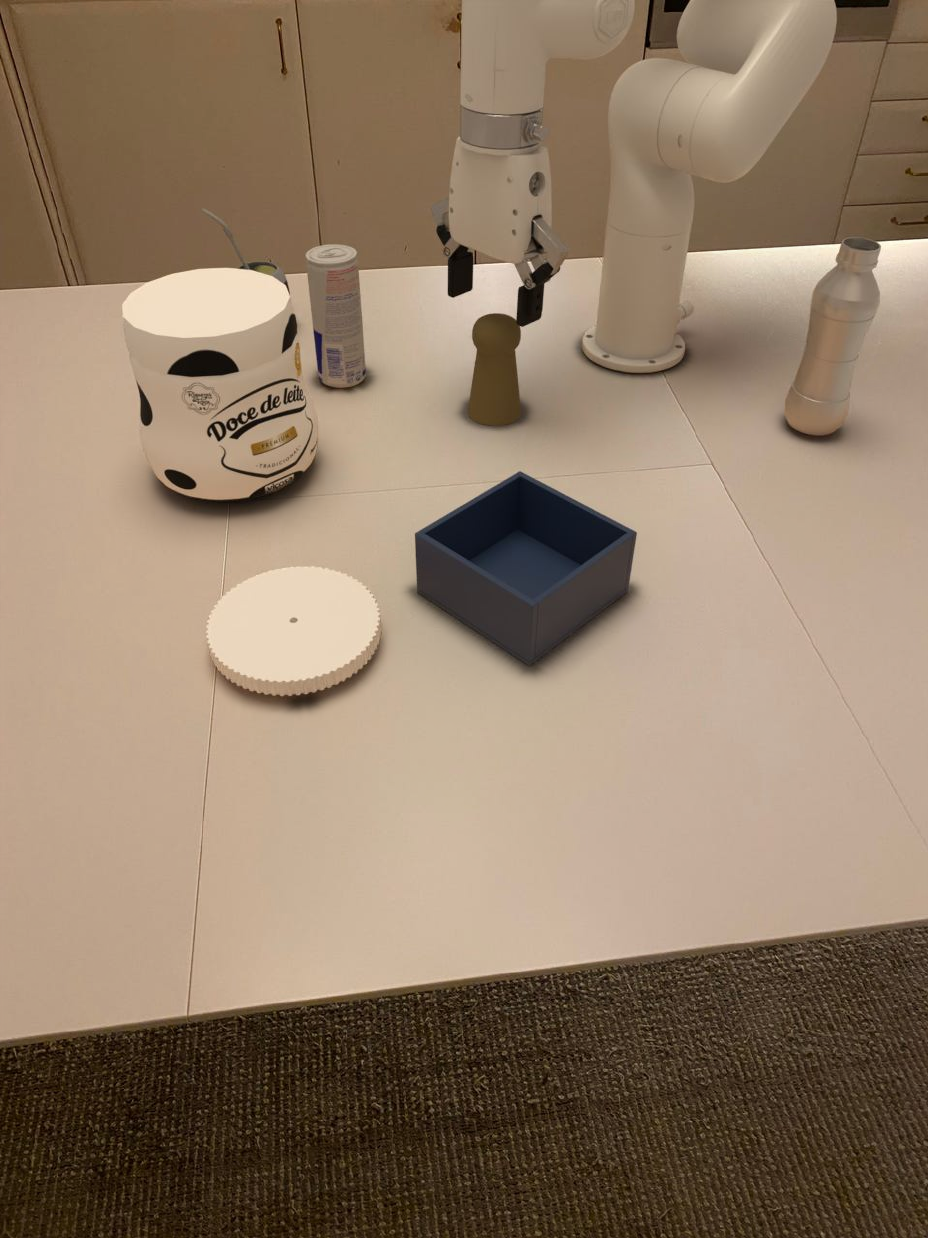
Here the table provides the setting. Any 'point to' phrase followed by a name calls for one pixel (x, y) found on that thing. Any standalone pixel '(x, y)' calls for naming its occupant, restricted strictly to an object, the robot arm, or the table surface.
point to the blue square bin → (524, 565)
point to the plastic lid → (293, 630)
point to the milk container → (220, 383)
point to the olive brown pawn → (495, 371)
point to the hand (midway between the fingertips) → (493, 307)
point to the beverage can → (336, 314)
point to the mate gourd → (257, 266)
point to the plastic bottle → (834, 339)
